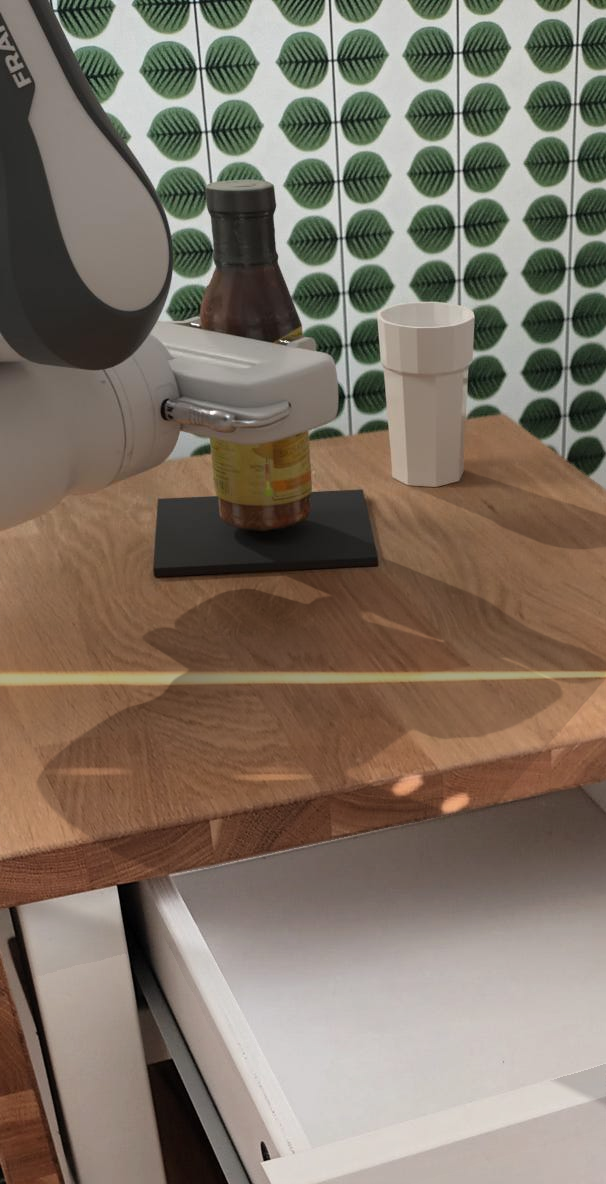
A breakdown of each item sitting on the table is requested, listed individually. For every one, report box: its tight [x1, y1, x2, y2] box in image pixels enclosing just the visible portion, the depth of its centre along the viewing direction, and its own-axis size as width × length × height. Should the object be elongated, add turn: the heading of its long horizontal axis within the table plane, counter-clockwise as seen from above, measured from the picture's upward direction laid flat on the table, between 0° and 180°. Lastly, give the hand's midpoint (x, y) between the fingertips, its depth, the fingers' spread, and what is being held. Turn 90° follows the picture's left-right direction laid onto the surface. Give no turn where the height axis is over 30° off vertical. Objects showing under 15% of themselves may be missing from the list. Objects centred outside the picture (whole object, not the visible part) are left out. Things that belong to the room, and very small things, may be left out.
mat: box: [152, 489, 379, 578], centre depth 102 cm, size 14×12×1 cm
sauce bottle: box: [199, 179, 313, 531], centre depth 96 cm, size 7×6×20 cm
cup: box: [376, 301, 476, 488], centre depth 109 cm, size 7×7×11 cm
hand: (257, 340), depth 96 cm, fingers closed on sauce bottle, 6 cm apart
